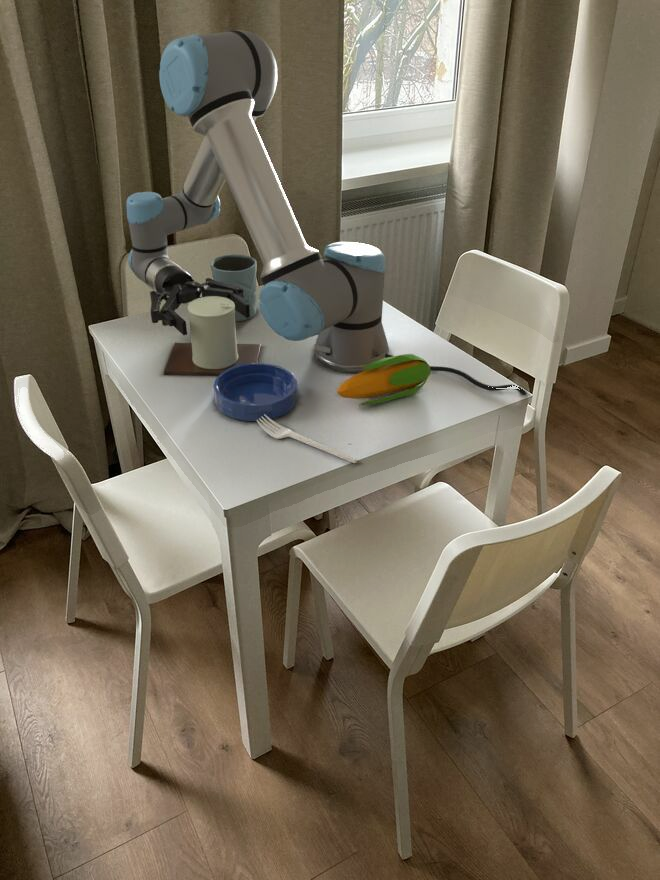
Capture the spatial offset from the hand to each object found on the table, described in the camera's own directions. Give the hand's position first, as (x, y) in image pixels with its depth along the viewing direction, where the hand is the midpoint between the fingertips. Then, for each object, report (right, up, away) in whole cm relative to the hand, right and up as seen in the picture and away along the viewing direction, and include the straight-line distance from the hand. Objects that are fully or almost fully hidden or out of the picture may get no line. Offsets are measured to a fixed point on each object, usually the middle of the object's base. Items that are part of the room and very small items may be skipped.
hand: (217, 319), depth 144 cm
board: (-2, -7, +8) cm, 11 cm away
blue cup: (+1, +6, +26) cm, 27 cm away
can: (-1, -7, +7) cm, 10 cm away
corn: (+32, -15, -2) cm, 35 cm away
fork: (+18, -24, -15) cm, 34 cm away
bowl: (+8, -16, -4) cm, 18 cm away
